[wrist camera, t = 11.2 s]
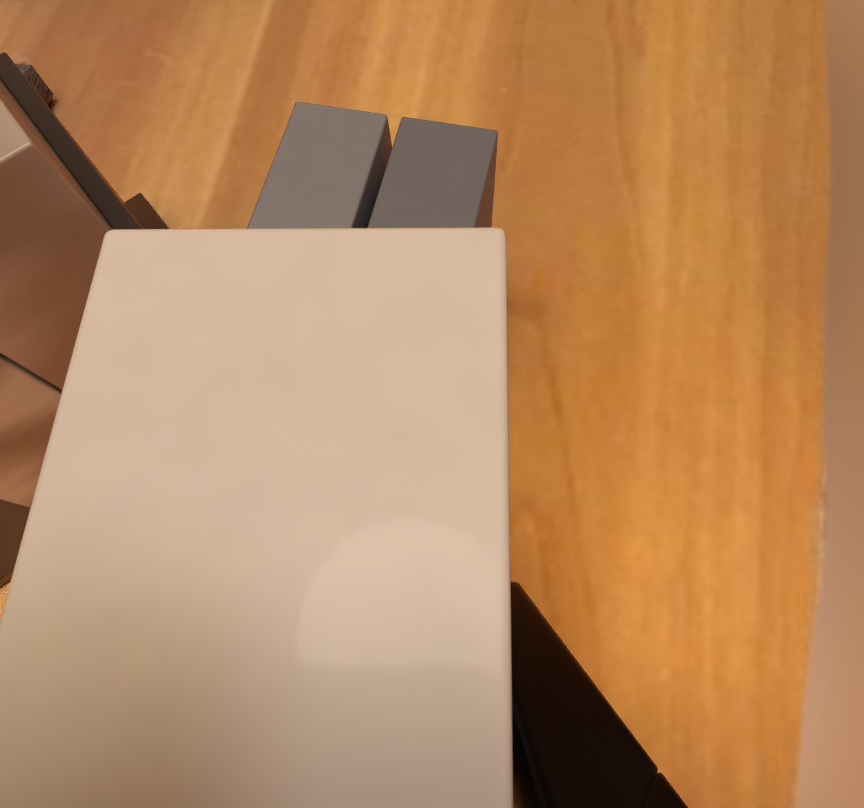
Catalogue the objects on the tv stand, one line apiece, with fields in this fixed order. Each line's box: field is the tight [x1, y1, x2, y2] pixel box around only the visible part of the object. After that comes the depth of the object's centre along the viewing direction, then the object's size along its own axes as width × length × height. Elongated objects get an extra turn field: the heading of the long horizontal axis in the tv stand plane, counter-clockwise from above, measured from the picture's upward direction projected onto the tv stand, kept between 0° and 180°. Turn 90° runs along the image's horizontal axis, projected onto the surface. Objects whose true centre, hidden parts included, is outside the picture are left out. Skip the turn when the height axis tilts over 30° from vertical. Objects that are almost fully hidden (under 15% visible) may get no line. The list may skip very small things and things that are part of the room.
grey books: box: [247, 102, 498, 229], centre depth 20 cm, size 6×8×8 cm
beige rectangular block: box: [0, 228, 513, 808], centre depth 10 cm, size 4×9×12 cm, turn 178°
